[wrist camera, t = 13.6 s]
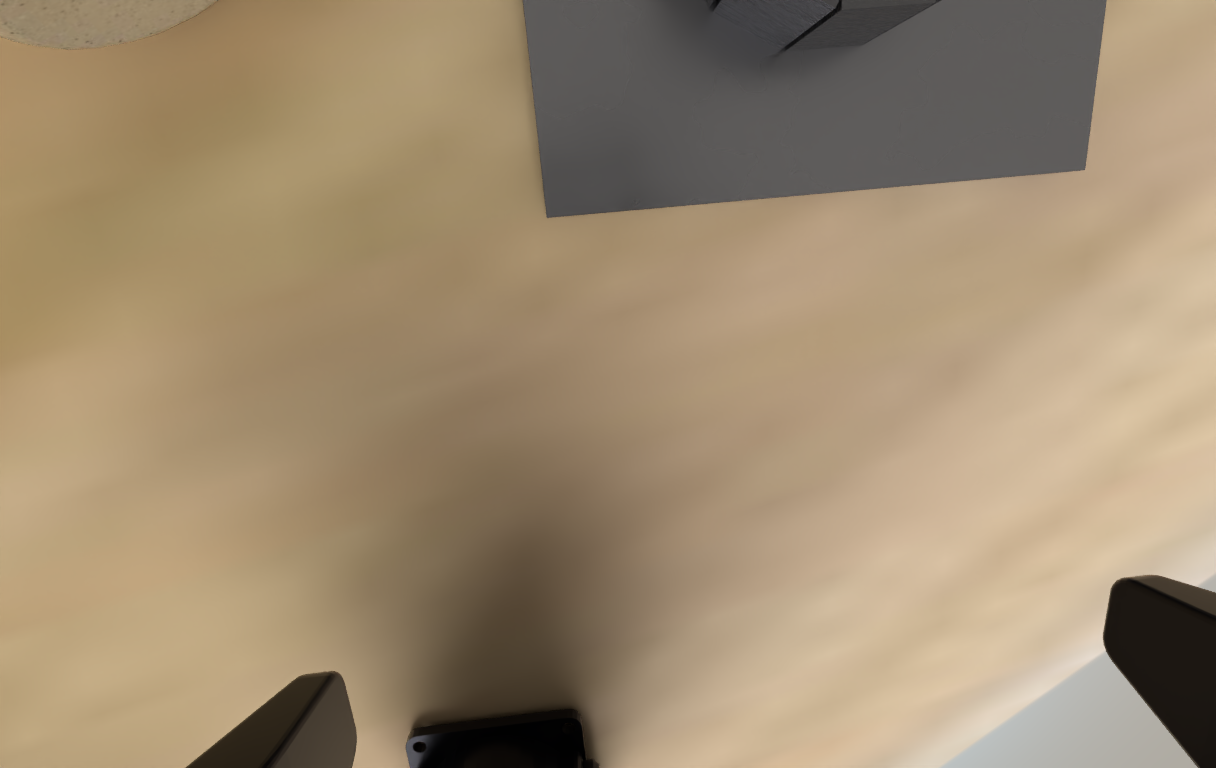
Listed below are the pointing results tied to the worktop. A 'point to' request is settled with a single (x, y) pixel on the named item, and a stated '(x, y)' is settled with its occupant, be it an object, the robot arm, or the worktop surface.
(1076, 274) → the worktop surface
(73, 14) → the ceramic mug
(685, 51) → the firebox collar
